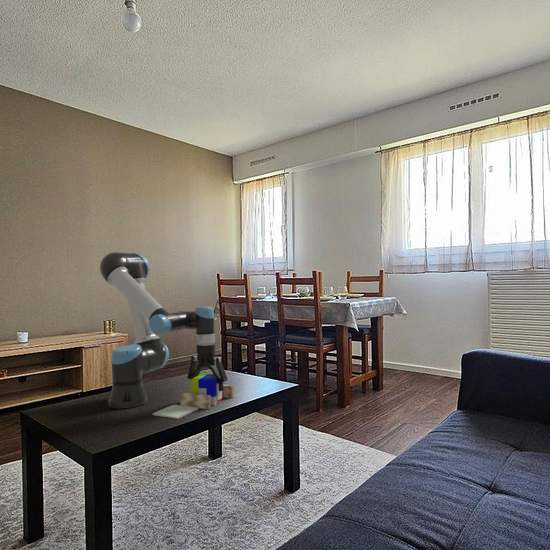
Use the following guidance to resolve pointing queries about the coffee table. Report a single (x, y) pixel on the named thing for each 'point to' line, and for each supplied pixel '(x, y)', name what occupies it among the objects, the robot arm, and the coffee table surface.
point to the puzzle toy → (205, 386)
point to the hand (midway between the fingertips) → (207, 397)
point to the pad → (175, 411)
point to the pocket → (203, 398)
